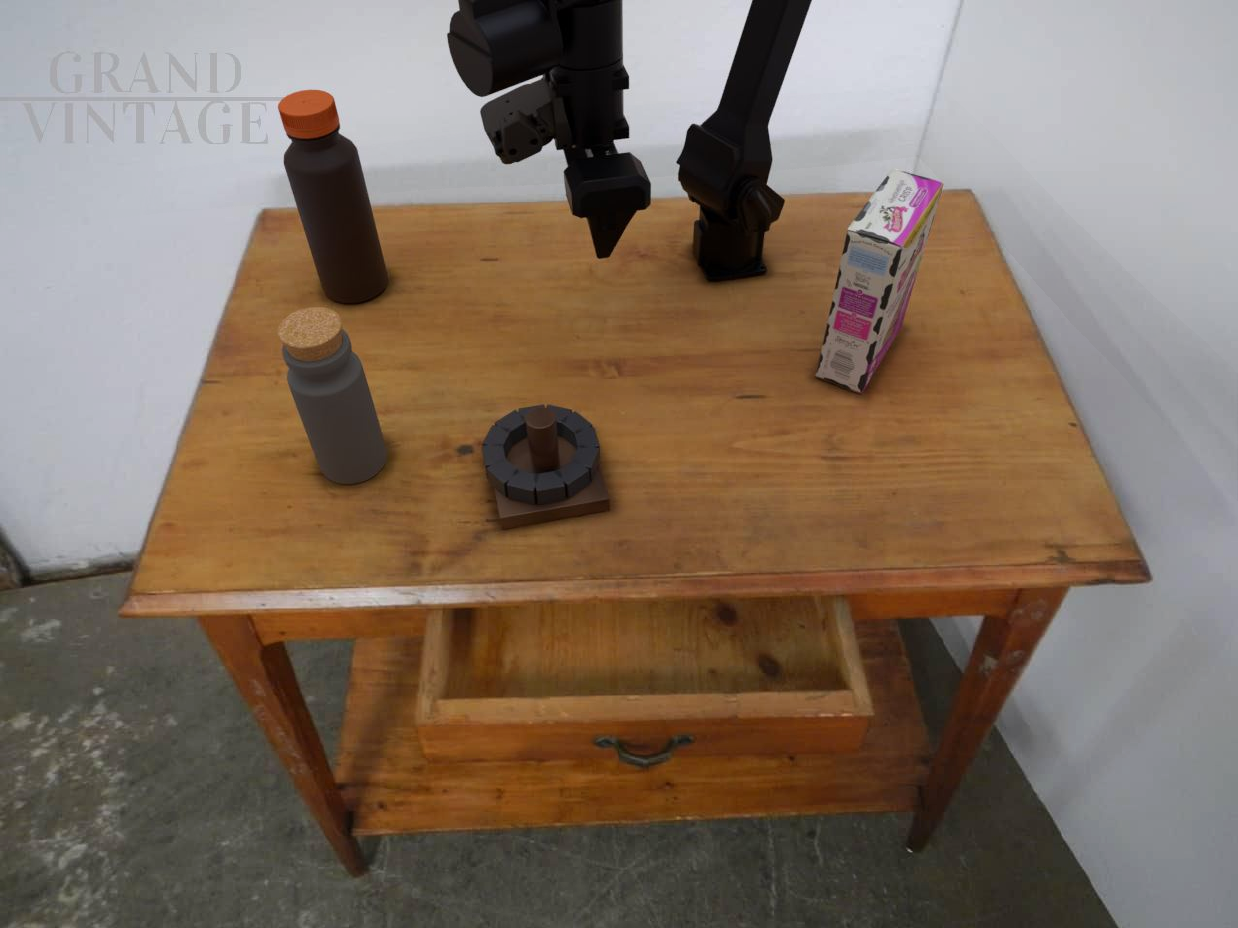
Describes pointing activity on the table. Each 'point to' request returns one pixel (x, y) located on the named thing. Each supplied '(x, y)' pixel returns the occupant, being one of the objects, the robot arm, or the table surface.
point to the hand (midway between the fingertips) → (592, 227)
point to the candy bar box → (877, 277)
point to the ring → (549, 483)
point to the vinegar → (332, 198)
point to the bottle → (332, 396)
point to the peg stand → (544, 456)
